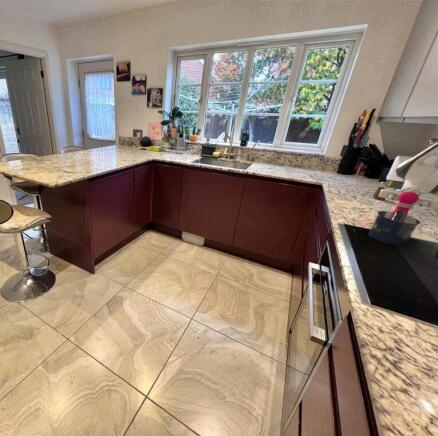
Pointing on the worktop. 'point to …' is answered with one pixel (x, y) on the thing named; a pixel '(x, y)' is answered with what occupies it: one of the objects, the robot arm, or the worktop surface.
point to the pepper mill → (407, 200)
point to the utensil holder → (376, 194)
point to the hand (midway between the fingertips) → (406, 201)
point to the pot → (391, 231)
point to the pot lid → (398, 217)
